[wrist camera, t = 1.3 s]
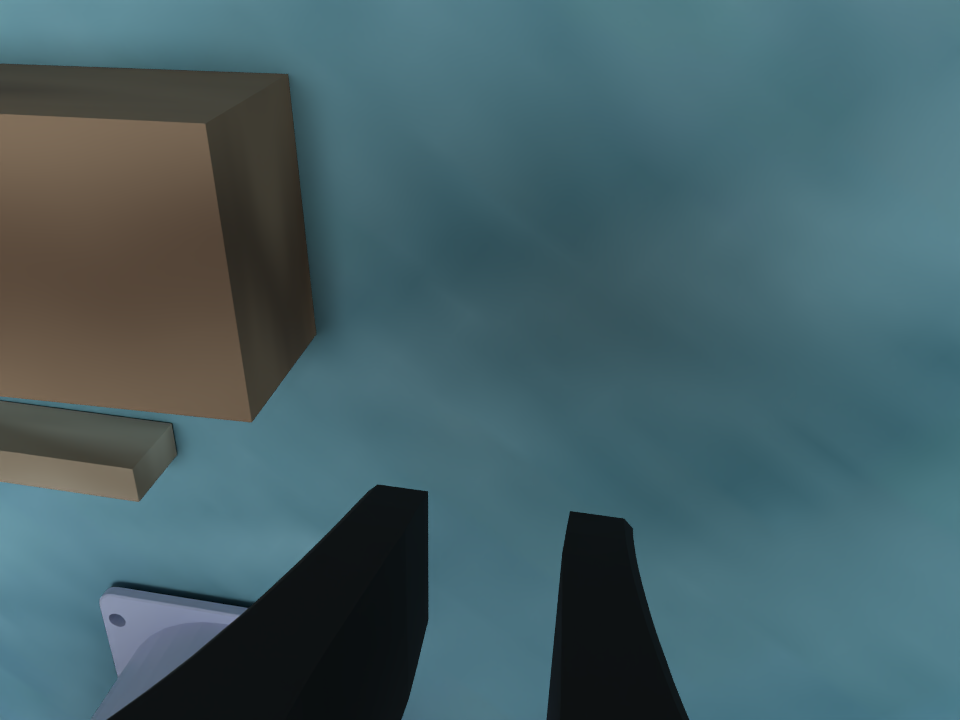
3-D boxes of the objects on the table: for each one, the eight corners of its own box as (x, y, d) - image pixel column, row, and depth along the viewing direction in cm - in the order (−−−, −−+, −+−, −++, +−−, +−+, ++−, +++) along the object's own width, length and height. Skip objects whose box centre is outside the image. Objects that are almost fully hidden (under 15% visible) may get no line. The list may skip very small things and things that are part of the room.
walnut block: (319, 330, 22) (251, 422, 18) (52, 307, 23) (-58, 390, 19) (291, 72, 19) (205, 123, 15) (-13, 60, 20) (-157, 106, 16)
